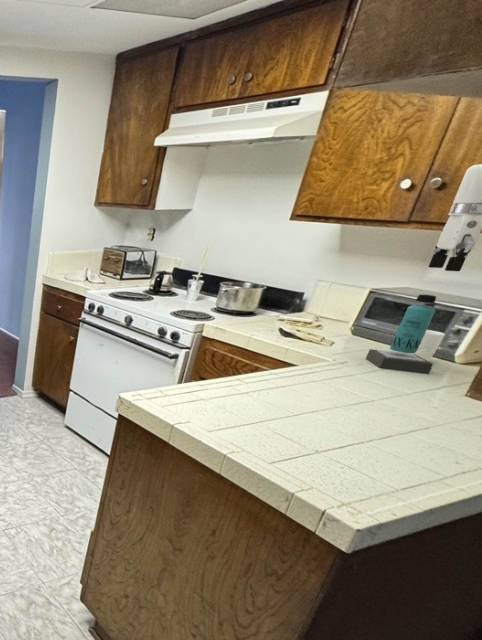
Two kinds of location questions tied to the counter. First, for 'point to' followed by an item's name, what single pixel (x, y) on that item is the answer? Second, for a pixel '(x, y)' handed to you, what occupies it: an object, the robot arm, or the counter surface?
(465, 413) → the counter surface
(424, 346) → the white cup
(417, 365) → the scale
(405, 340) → the beverage bottle
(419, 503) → the counter surface
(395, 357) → the pan
